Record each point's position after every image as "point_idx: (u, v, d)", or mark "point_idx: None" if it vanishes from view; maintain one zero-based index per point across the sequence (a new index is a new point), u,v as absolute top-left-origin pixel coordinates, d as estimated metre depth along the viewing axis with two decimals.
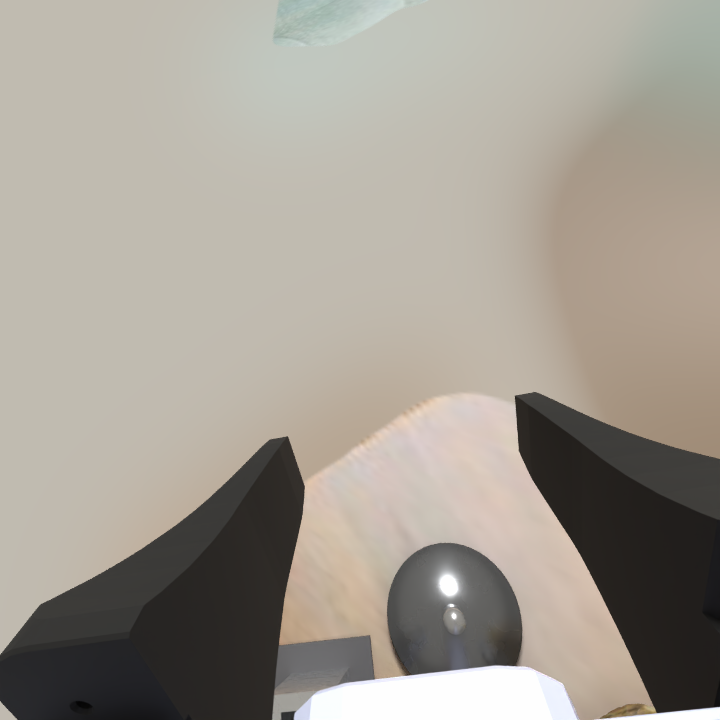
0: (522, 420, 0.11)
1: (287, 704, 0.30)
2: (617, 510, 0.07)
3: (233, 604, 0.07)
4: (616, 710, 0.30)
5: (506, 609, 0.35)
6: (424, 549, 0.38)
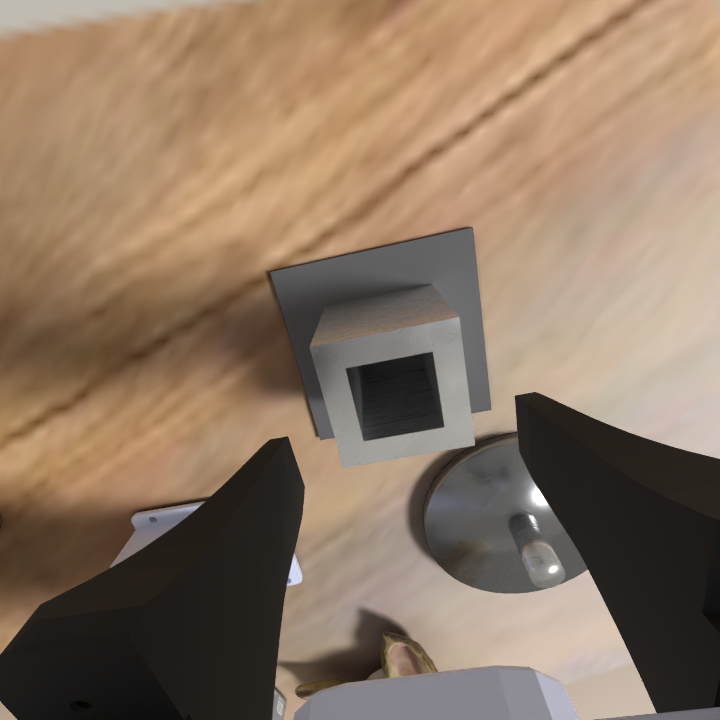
0: (522, 420, 0.11)
1: (446, 362, 0.14)
2: (617, 510, 0.07)
3: (233, 604, 0.07)
4: (436, 671, 0.27)
5: (527, 580, 0.26)
6: None
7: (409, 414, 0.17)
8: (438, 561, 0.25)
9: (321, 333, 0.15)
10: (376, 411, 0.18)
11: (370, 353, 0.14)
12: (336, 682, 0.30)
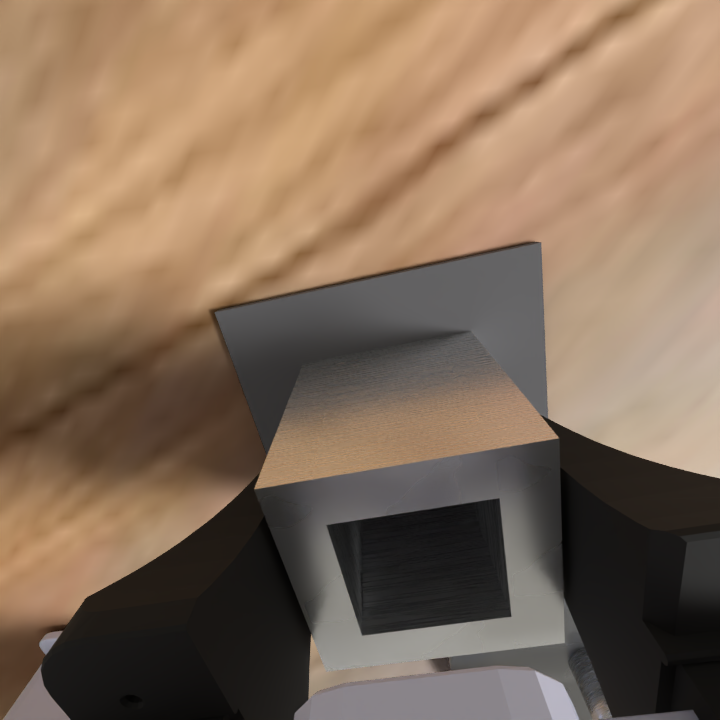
0: None
1: (525, 516, 0.07)
2: (573, 517, 0.07)
3: (271, 599, 0.07)
4: None
5: None
6: None
7: (441, 565, 0.10)
8: None
9: (284, 442, 0.08)
10: (384, 548, 0.11)
11: (375, 500, 0.07)
12: None
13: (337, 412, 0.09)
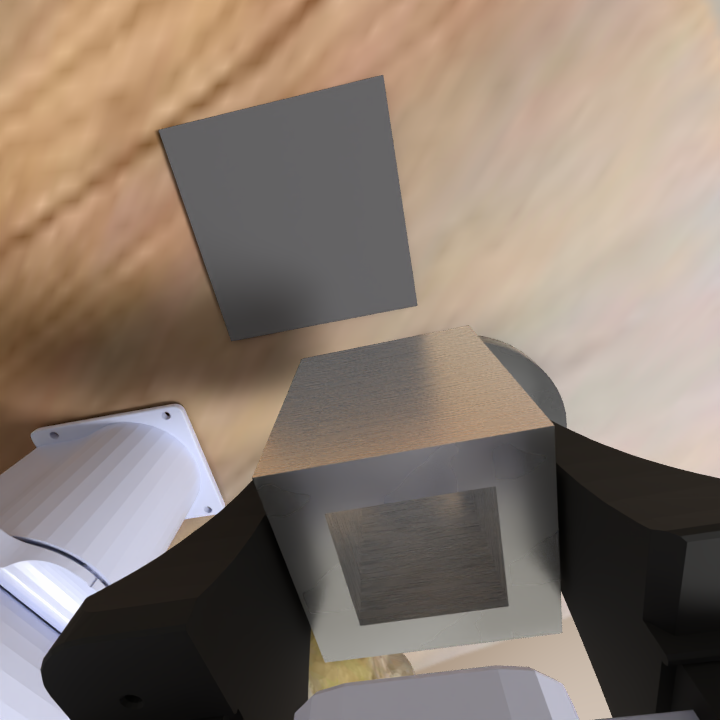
0: None
1: (521, 505, 0.07)
2: (573, 517, 0.07)
3: (271, 599, 0.07)
4: None
5: None
6: (560, 403, 0.21)
7: (439, 557, 0.10)
8: None
9: (283, 433, 0.08)
10: (383, 541, 0.11)
11: (372, 489, 0.07)
12: None
13: (335, 404, 0.09)
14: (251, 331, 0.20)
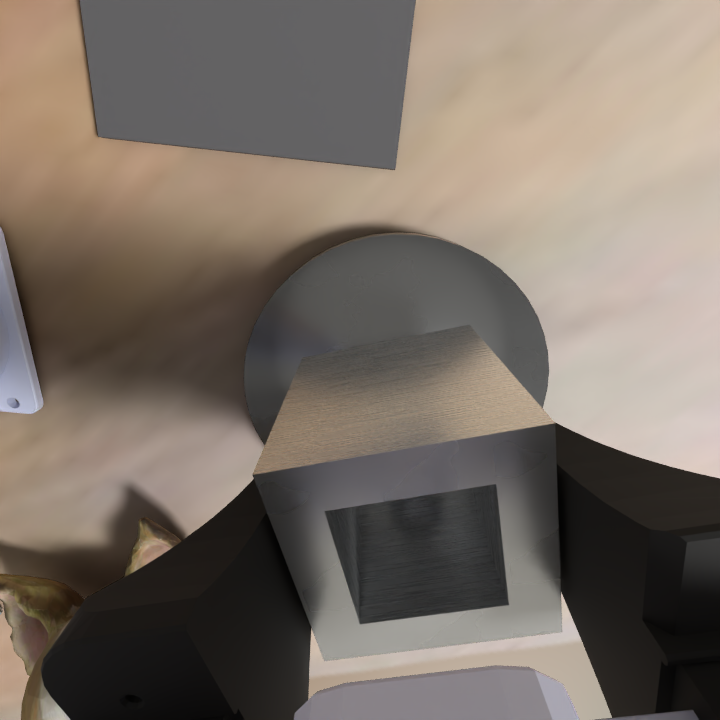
0: None
1: (522, 503, 0.07)
2: (573, 516, 0.07)
3: (271, 599, 0.07)
4: None
5: None
6: (544, 372, 0.15)
7: (439, 556, 0.10)
8: (255, 422, 0.16)
9: (283, 431, 0.08)
10: (382, 540, 0.11)
11: (372, 486, 0.07)
12: (54, 583, 0.19)
13: (335, 402, 0.09)
14: (133, 130, 0.13)
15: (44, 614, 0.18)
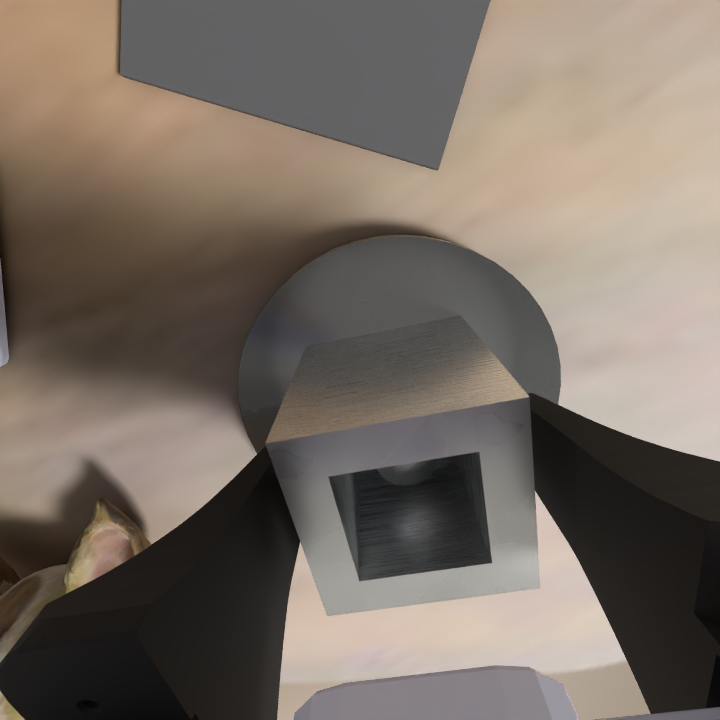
0: None
1: (502, 469, 0.08)
2: (611, 511, 0.07)
3: (238, 603, 0.07)
4: None
5: None
6: None
7: (431, 524, 0.11)
8: (244, 414, 0.15)
9: (290, 408, 0.09)
10: (380, 511, 0.12)
11: (371, 454, 0.08)
12: None
13: (337, 383, 0.10)
14: (161, 75, 0.12)
15: None
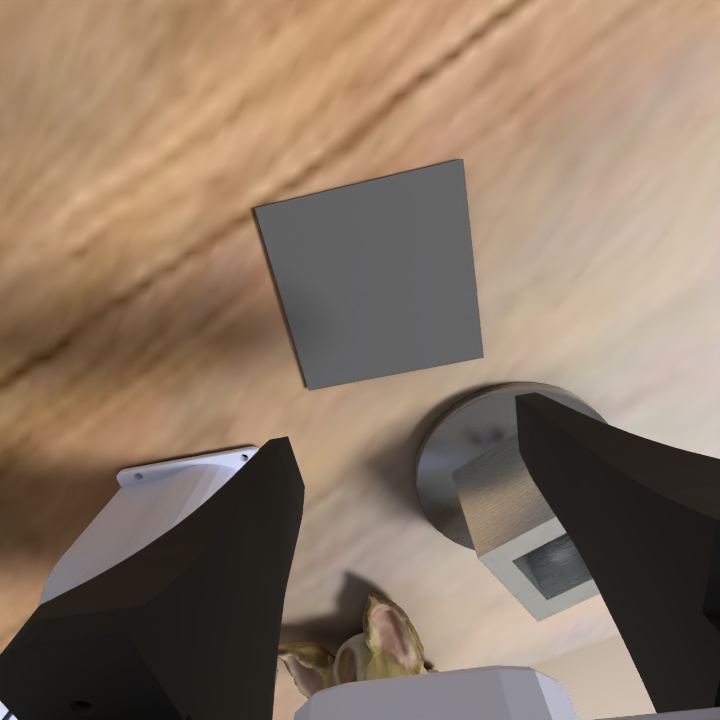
0: (522, 420, 0.11)
1: None
2: (617, 510, 0.07)
3: (233, 604, 0.07)
4: (417, 637, 0.27)
5: None
6: None
7: (571, 555, 0.19)
8: (430, 519, 0.25)
9: (475, 530, 0.19)
10: (538, 555, 0.21)
11: (527, 545, 0.17)
12: (312, 643, 0.29)
13: (489, 506, 0.19)
14: (327, 382, 0.22)
15: (317, 665, 0.28)
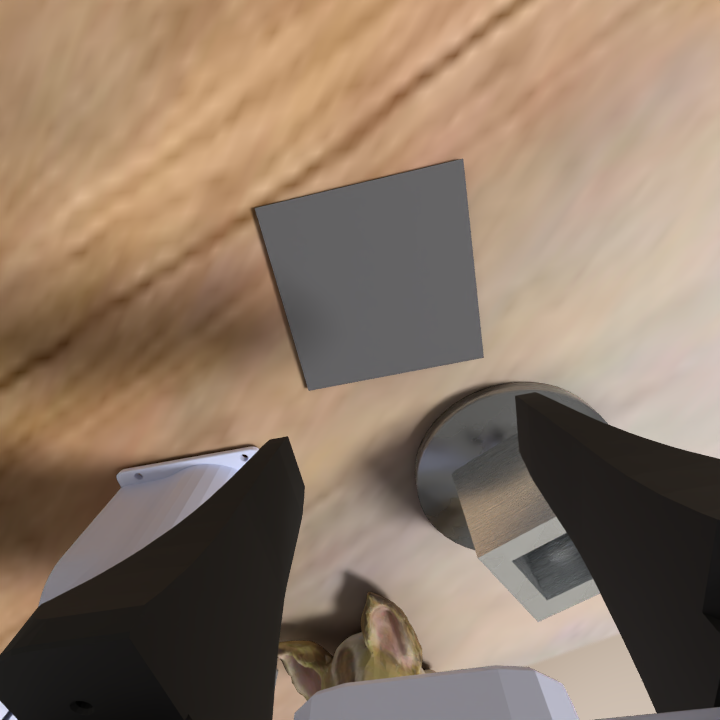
0: (522, 420, 0.11)
1: None
2: (617, 510, 0.07)
3: (233, 604, 0.07)
4: (416, 637, 0.27)
5: None
6: None
7: (571, 555, 0.19)
8: (430, 519, 0.25)
9: (475, 530, 0.19)
10: (538, 555, 0.21)
11: (527, 545, 0.17)
12: (310, 643, 0.29)
13: (489, 506, 0.19)
14: (327, 382, 0.22)
15: (315, 664, 0.28)
